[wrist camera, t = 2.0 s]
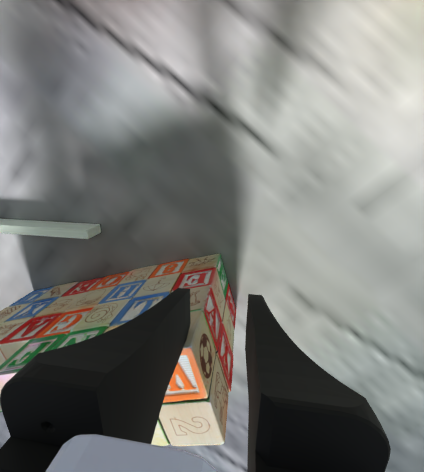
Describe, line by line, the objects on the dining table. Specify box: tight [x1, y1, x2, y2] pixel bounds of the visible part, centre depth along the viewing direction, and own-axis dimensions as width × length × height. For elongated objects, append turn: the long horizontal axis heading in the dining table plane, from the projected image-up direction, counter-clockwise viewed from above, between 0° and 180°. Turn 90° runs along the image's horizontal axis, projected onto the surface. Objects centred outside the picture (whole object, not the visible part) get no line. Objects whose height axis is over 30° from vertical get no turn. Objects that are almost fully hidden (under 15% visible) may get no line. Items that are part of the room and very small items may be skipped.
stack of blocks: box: [0, 254, 236, 446], centre depth 20 cm, size 21×6×12 cm, turn 106°
